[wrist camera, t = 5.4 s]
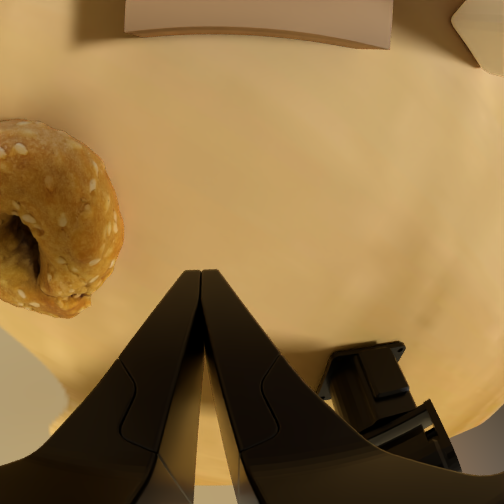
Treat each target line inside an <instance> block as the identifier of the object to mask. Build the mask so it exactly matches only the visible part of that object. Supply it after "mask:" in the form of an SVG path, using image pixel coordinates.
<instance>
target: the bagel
mask: <svg viewBox="0 0 504 504" xmlns="http://www.w3.org/2000/svg"><path fill="white" fill-rule="evenodd" d="M123 240H124V224H123V220H122V217H121V214H120V211H119V205H118V201H117V196H116V193H115V190H114V188H113V186H112V184H111V182H110V179H109V177H108V175H107V173H106V170H105V165H104V163H103V161H102V159H101V158H100V157H99V156H98V155H96V154H95V153H94V152H93V151H92V150H91V149H89V148H88V147H87V146H86V145H85V144H83V143H82V142H80V141H78V140H77V139H75V138H73V137H71V136H70V135H68V134H67V133H66V132H64V131H62V130H56V129H53V128H51V127H49V126H48V125H46V124H43V123H42V122H39V121H28V120H21V119H14V120H8V121H1V122H0V299H1V300H3V301H4V302H8V303H10V304H12V305H14V306H16V307H21V308H24V309H27V310H31V311H36V312H38V313H41V314H46V315H49V316H52V317H54V318H59V317H60V318H67V319H69V318H72V317H75V316H76V315H78V314H79V313H80V312H82V311H83V310H84V309H85V308H88V307H90V306H91V299H90V298H91V294H92V293H93V292H94V291H96V290H97V289H98V288H99V287H100V286H102V284H103V283H104V281H105V280H106V279H107V278H108V277H109V276H110V274H111V273H112V272H113V270H114V265H115V262H116V259H117V257H118V254H119V252H120V249H121V247H122V245H123Z"/></svg>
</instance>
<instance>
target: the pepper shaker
mask: <svg viewBox="0 0 504 504" xmlns="http://www.w3.org/2000/svg"><path fill="white" fill-rule="evenodd" d="M451 22H452V25H453V27H454V28H455V30H456V31H457V33H458V34H459V35H460V37H461V38H462V40H463V41H464V42H465V44H466V45H467V47H468V48H469V50H470V51H471V53H472V54H473V56H474V57H475V59H476V61H477V62H478V64H479V65H480V67H481V68H482V69H483V70H485V71H486V72H487V73H489V74H493V75H497V76H501V77H504V0H466V1H465V2H464V3H463V4H462V5H461V6H460V8H459V9H458V10H457V11H456V12H455V13H454V15H453V16H452V19H451Z"/></svg>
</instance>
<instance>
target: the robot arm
mask: <svg viewBox="0 0 504 504" xmlns="http://www.w3.org/2000/svg"><path fill="white" fill-rule="evenodd" d="M405 349H406V347H405V345H404V343H403V342H400V343H394V344H388V345H382V346H376V347H369V348H362V349H355V350H348V351H340V352H335V353H333V354H332V355H331V356H330V359H329V362H328V364H327V367H326V370H325V372H324V375H323V378H322V380H321V383H320V385H319V388H318V390H317V393H315V392H314V391H313V390H312V389H311V388H310V387H309V386H308V385H307V384H306V383H305V382H304V380H303V379H302V378H301V377H300V376H299V375H298V373H297V372H296V371H295V370H294V369H293V368H292V366H291V365H290V364H289V362H288V361H287V360H286V359H285V357H284V356H283V355H281V352H280V351H279V350H278V349H277V347H276V346H275V345H274V343H273V342H272V341H271V339H270V338H269V337H268V336H267V334H266V333H265V332H264V330H263V329H262V328H261V326H260V325H259V324H258V322H257V321H256V320H255V319H254V317H253V316H252V315H251V313H250V312H249V311H248V309H247V308H246V307H245V305H244V304H243V303H242V301H241V300H240V299H239V297H238V296H237V295H236V293H235V292H234V291H233V289H232V288H231V287H230V285H229V284H228V282H227V281H226V280H225V278H224V277H223V276H222V274H221V273H220V272H219V270H217V269H209V270H203V271H202V272H201V271H200V270H185V271H184V272H183V273H182V274H181V276H180V277H179V278H178V279H177V281H176V282H175V283H174V285H173V286H172V287H171V288H170V290H169V291H168V292H167V294H166V295H165V296H164V297H163V299H162V300H161V301H160V303H159V304H158V305H157V306H156V308H155V309H154V310H153V312H152V313H151V314H150V316H149V317H148V318H147V320H146V321H145V322H144V324H143V325H142V326H141V327H140V329H139V330H138V331H137V333H136V334H135V335H134V337H133V338H132V339H131V341H130V342H129V343H128V345H127V346H126V347H125V349H124V350H123V352H122V353H121V354H120V356H119V359H116V361H115V362H114V363H113V365H112V366H111V368H110V369H109V370H108V372H107V373H106V374H105V375H104V377H103V378H102V379H101V381H100V382H99V383H98V384H97V386H96V387H95V388H94V389H93V390H92V392H91V393H90V394H89V395H88V396H87V397H86V398H85V400H84V401H83V402H82V403H81V404H80V405H79V406H78V407H77V409H76V410H75V411H74V412H73V413H72V414H71V415H70V416H69V417H68V418H67V419H66V421H65V422H64V423H63V424H62V425H61V426H60V427H59V428H58V429H57V430H56V432H55V433H54V434H53V435H52V436H51V437H50V438H49V439H48V440H47V441H46V442H45V443H44V444H43V445H42V446H41V447H40V448H39V449H38V450H37V451H35V452H33V453H32V454H31V455H29V456H27V457H25V458H22V459H20V460H17V461H14V462H11V463H8V464H5V465H2V466H0V504H193V501H194V483H195V467H196V452H197V439H198V425H199V413H200V401H201V390H202V379H203V368H204V355H206V362H207V367H208V373H209V378H210V383H211V388H212V393H213V398H214V403H215V408H216V413H217V418H218V422H219V427H220V432H221V436H222V441H223V445H224V450H225V454H226V458H227V463H228V467H229V471H230V475H231V479H232V483H233V487H234V491H235V495H236V499H237V503H238V504H504V471H503V472H501V473H498V474H494V475H485V476H483V475H482V476H479V475H471V474H465V473H462V470H461V467H460V464H459V461H458V459H457V456H456V454H455V451H454V449H453V446H452V444H451V442H450V440H449V437H448V435H447V433H446V431H445V429H444V427H443V425H442V423H441V420H440V418H439V416H438V414H437V412H436V410H435V408H434V406H433V404H432V402H431V400H430V399H428V400H427V401H425V402H423V403H424V404H422V405H420V406H418V407H417V406H416V404H415V402H414V400H413V397H412V395H411V393H410V391H409V385H408V383H407V381H406V379H405V377H404V374H403V372H402V370H401V368H400V366H399V364H398V361H399V359H400V358H401V356H402V354H403V352H404V351H405ZM329 399H332V402H333V405H334V409H335V411H334V410H333V409H332V408H331V407H330V406H329V405H328V404H326V403H325V402H324V401H323V400H329ZM430 425H433V428H432V429H430V430H428V431H426V432H425V431H424V429H425V428H427V427H428V426H430Z"/></svg>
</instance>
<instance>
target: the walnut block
mask: <svg viewBox="0 0 504 504" xmlns="http://www.w3.org/2000/svg"><path fill="white" fill-rule="evenodd" d="M392 15H393V0H126V5H125V26H124V32H126V33H129V34H133V35H136V36H139V37H154V36H167V35H187V34H238V35H258V36H271V37H282V38H292V39H300V40H308V41H315V42H322V43H328V44H334V45H339V46H345V47H350V48H355V49H385V50H390V42H391V29H392Z"/></svg>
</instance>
